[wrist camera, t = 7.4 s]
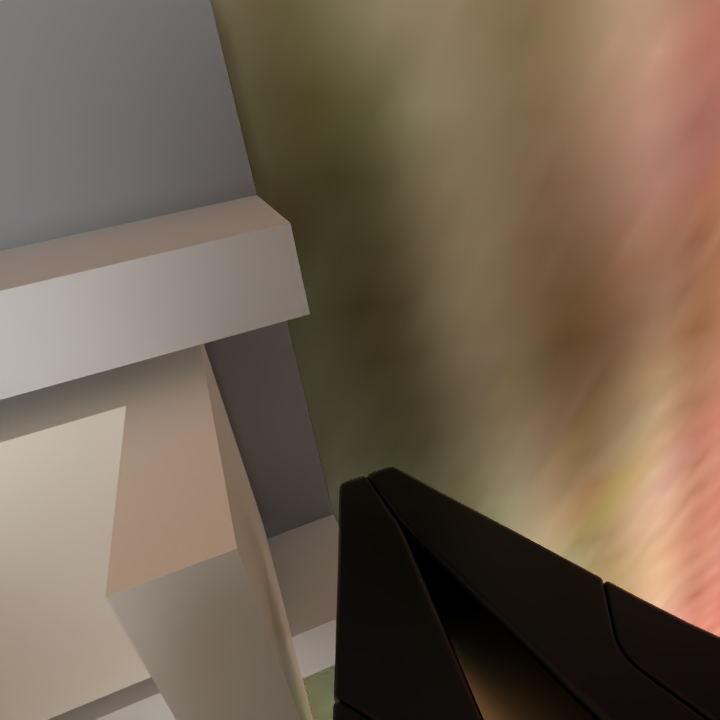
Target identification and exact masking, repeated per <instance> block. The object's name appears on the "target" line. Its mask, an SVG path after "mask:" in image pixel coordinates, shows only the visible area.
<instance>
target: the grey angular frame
mask: <svg viewBox="0 0 720 720" xmlns="http://www.w3.org/2000/svg"><path fill="white" fill-rule="evenodd" d="M309 314H310V312H309V307H308V303H307V298H306V293H305V289H304V284H303V279H302V275H301V270H300V265H299V261H298V256H297V252H296V247H295V242H294V238H293V233H292V228H291V224H290V222H289V221H287V220H286V219H285V218H284V217H283V216H281V215H280V214H279V213H278V212H277V211H275V210H274V209H273V208H272V207H271V206H269V205H268V204H267V203H266V202H265V201H264V200H262V199H261V198H260V197H259V196H258V195H257V193H256V189H255V185H254V181H253V177H252V172H251V168H250V164H249V160H248V156H247V151H246V147H245V143H244V139H243V135H242V131H241V126H240V122H239V118H238V114H237V110H236V106H235V101H234V97H233V93H232V89H231V85H230V80H229V76H228V72H227V68H226V64H225V60H224V55H223V51H222V47H221V43H220V39H219V35H218V30H217V26H216V22H215V18H214V14H213V10H212V5H211V1H210V0H0V400H2V399H5V398H9V397H12V396H16V395H20V394H23V393H27V392H31V391H34V390H38V389H41V388H45V387H49V386H52V385H56V384H59V383H63V382H67V381H70V380H74V379H78V378H81V377H85V376H88V375H92V374H96V373H99V372H103V371H106V370H110V369H114V368H117V367H121V366H125V365H128V364H132V363H135V362H139V361H143V360H146V359H150V358H153V357H157V356H161V355H164V354H168V353H172V352H175V351H179V350H182V349H186V348H190V347H193V346H197V345H200V344H204V346H205V349H206V352H207V355H208V358H209V361H210V364H211V367H212V370H213V374H214V377H215V380H216V383H217V386H218V389H219V392H220V395H221V398H222V401H223V404H224V407H225V410H226V413H227V416H228V419H229V422H230V425H231V428H232V431H233V434H234V437H235V440H236V443H237V446H238V449H239V453H240V456H241V459H242V462H243V465H244V468H245V471H246V474H247V477H248V480H249V483H250V486H251V489H252V492H253V495H254V498H255V501H256V504H257V507H258V510H259V513H260V516H261V519H262V522H263V525H264V529H265V533H266V537H267V541H268V545H269V549H270V553H271V557H272V560H273V564H274V568H275V572H276V576H277V580H278V584H279V588H280V592H281V596H282V600H283V604H284V608H285V611H286V615H287V619H288V623H289V627H290V631H291V635H292V639H293V643H294V647H295V651H296V655H297V659H298V662H299V666H300V670H301V674H302V678H305V677H308V676H310V675H312V674H315V673H317V672H319V671H321V670H324V669H326V668H328V667H330V666H333V665H335V645H336V608H337V571H338V534H339V526H338V524H337V521H336V519H335V517H334V514H333V511H332V506H331V502H330V498H329V494H328V490H327V485H326V481H325V477H324V473H323V469H322V465H321V460H320V456H319V452H318V448H317V444H316V440H315V435H314V431H313V427H312V423H311V419H310V415H309V410H308V406H307V402H306V398H305V394H304V389H303V385H302V381H301V377H300V373H299V369H298V364H297V360H296V356H295V352H294V348H293V344H292V339H291V335H290V331H289V327H288V323H287V320H291V319H294V318H298V317H302V316H305V315H309ZM48 720H176V719H175V717H174V716H173V714H172V712H171V710H170V709H169V707H168V705H167V703H166V702H165V700H164V698H163V696H162V695H161V693H160V691H159V689H158V688H157V686H156V684H155V683H154V681H153V679H152V677H150V678H148V679H145V680H143V681H140V682H138V683H136V684H133V685H131V686H128V687H126V688H123V689H121V690H118V691H116V692H114V693H111V694H109V695H106V696H104V697H101V698H99V699H97V700H94V701H92V702H89V703H87V704H84V705H82V706H79V707H77V708H75V709H72V710H70V711H67V712H65V713H62V714H60V715H58V716H55V717H53V718H50V719H48Z"/></svg>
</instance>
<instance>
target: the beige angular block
mask: <svg viewBox="0 0 720 720" xmlns="http://www.w3.org/2000/svg"><path fill="white" fill-rule="evenodd" d="M150 677H152V679H153V681H154V683H155V684H156V686H157V688H158V689H159V691H160V693H161V695H162V696H163V698H164V700H165V702H166V703H167V705H168V707H169V709H170V710H171V712H172V714H173V716H174V717H175V719H176V720H313V717H312V713H311V710H310V706H309V702H308V698H307V694H306V690H305V686H304V682H303V678H302V674H301V670H300V666H299V662H298V659H297V655H296V651H295V647H294V643H293V639H292V635H291V631H290V627H289V623H288V619H287V615H286V611H285V608H284V604H283V600H282V596H281V592H280V588H279V584H278V580H277V576H276V572H275V568H274V564H273V560H272V557H271V553H270V549H269V545H268V541H267V537H266V533H265V529H264V525H263V522H262V519H261V516H260V513H259V510H258V507H257V504H256V501H255V498H254V495H253V492H252V489H251V486H250V483H249V480H248V477H247V474H246V471H245V468H244V465H243V462H242V459H241V456H240V453H239V449H238V446H237V443H236V440H235V437H234V434H233V431H232V428H231V425H230V422H229V419H228V416H227V413H226V410H225V407H224V404H223V401H222V398H221V395H220V392H219V389H218V386H217V383H216V380H215V377H214V374H213V370H212V367H211V364H210V361H209V358H208V355H207V352H206V349H205V346H204V344H200V345H197V346H193V347H190V348H186V349H182V350H179V351H175V352H172V353H168V354H164V355H161V356H157V357H153V358H150V359H146V360H143V361H139V362H135V363H132V364H128V365H125V366H121V367H117V368H114V369H110V370H106V371H103V372H99V373H96V374H92V375H88V376H85V377H81V378H78V379H74V380H70V381H67V382H63V383H59V384H56V385H52V386H49V387H45V388H41V389H38V390H34V391H31V392H27V393H23V394H20V395H16V396H12V397H9V398H5V399H2V400H0V720H48V719H50V718H53V717H55V716H58V715H60V714H62V713H65V712H67V711H70V710H72V709H75V708H77V707H79V706H82V705H84V704H87V703H89V702H92V701H94V700H97V699H99V698H101V697H104V696H106V695H109V694H111V693H114V692H116V691H118V690H121V689H123V688H126V687H128V686H131V685H133V684H136V683H138V682H140V681H143V680H145V679H148V678H150Z"/></svg>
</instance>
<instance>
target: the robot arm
mask: <svg viewBox="0 0 720 720" xmlns="http://www.w3.org/2000/svg"><path fill="white" fill-rule="evenodd" d="M334 700H335V704H334V706H333V720H720V637H718V636H716V635H714V634H712V633H710V632H708V631H705V630H703V629H701V628H699V627H697V626H694V625H692V624H690V623H688V622H686V621H684V620H682V619H680V618H678V617H676V616H674V615H672V614H670V613H668V612H666V611H664V610H662V609H660V608H658V607H656V606H654V605H652V604H650V603H648V602H646V601H644V600H642V599H640V598H638V597H637V596H635V595H633V594H631V593H629V592H627V591H625V590H623V589H622V588H620V587H618V586H616V585H614V584H612V583H610V582H605V583H604V584H603V580H602V578H600V577H599V576H597V575H595V574H593V573H591V572H589V571H587V570H586V569H584V568H582V567H580V566H578V565H576V564H574V563H572V562H571V561H569V560H567V559H565V558H563V557H561V556H559V555H557V554H556V553H554V552H552V551H550V550H548V549H546V548H544V547H543V546H541V545H539V544H537V543H535V542H533V541H531V540H529V539H528V538H526V537H524V536H522V535H520V534H518V533H516V532H514V531H513V530H511V529H509V528H507V527H505V526H503V525H501V524H499V523H498V522H496V521H494V520H492V519H490V518H488V517H486V516H485V515H483V514H481V513H479V512H477V511H475V510H473V509H471V508H470V507H468V506H466V505H464V504H462V503H460V502H458V501H456V500H455V499H453V498H451V497H449V496H447V495H445V494H443V493H441V492H440V491H438V490H436V489H434V488H432V487H430V486H428V485H426V484H425V483H423V482H421V481H419V480H417V479H415V478H413V477H412V476H410V475H408V474H406V473H404V472H402V471H400V470H398V469H397V468H394V467H387V468H384V469H381V470H378V471H376V472H373V473H370V474H369V475H368V476H367V477H364V476H361V477H358V478H355V479H352V480H350V481H347V482H344V483H342V484H341V486H340V497H339V534H338V571H337V608H336V645H335V682H334Z"/></svg>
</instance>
